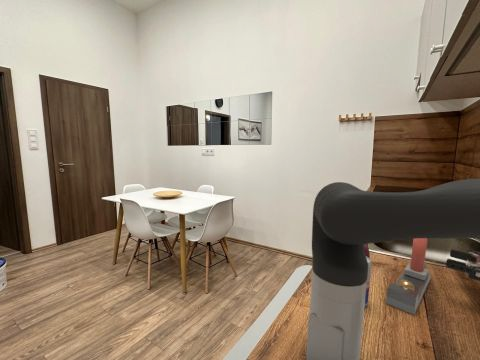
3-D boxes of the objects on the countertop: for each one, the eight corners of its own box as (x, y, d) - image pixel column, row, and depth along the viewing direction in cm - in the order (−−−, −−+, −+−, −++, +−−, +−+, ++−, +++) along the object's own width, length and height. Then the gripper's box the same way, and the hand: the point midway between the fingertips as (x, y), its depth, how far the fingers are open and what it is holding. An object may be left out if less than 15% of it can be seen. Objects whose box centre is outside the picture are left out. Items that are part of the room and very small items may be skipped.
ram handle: (424, 280, 70) (432, 223, 67) (404, 273, 73) (410, 219, 71) (427, 274, 73) (435, 219, 71) (408, 268, 77) (414, 215, 74)
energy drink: (353, 310, 60) (357, 264, 58) (340, 297, 65) (343, 254, 64) (372, 307, 61) (377, 262, 59) (358, 294, 67) (362, 252, 65)
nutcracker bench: (414, 315, 59) (416, 293, 58) (385, 303, 63) (388, 283, 62) (429, 279, 74) (432, 262, 73) (406, 272, 78) (408, 255, 78)
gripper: (540, 256, 60) (453, 237, 72) (549, 278, 50) (447, 252, 62) (534, 284, 62) (449, 261, 73) (542, 311, 52) (442, 280, 63)
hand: (448, 257), depth 67 cm, fingers open, 8 cm apart
